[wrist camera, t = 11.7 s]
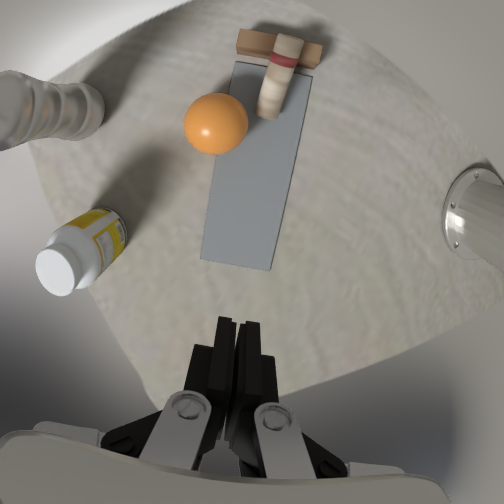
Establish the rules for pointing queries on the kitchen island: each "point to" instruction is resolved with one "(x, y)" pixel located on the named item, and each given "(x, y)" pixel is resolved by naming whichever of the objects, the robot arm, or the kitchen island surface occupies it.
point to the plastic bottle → (46, 110)
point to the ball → (216, 123)
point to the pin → (278, 75)
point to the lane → (254, 176)
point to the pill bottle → (81, 251)
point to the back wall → (264, 44)
